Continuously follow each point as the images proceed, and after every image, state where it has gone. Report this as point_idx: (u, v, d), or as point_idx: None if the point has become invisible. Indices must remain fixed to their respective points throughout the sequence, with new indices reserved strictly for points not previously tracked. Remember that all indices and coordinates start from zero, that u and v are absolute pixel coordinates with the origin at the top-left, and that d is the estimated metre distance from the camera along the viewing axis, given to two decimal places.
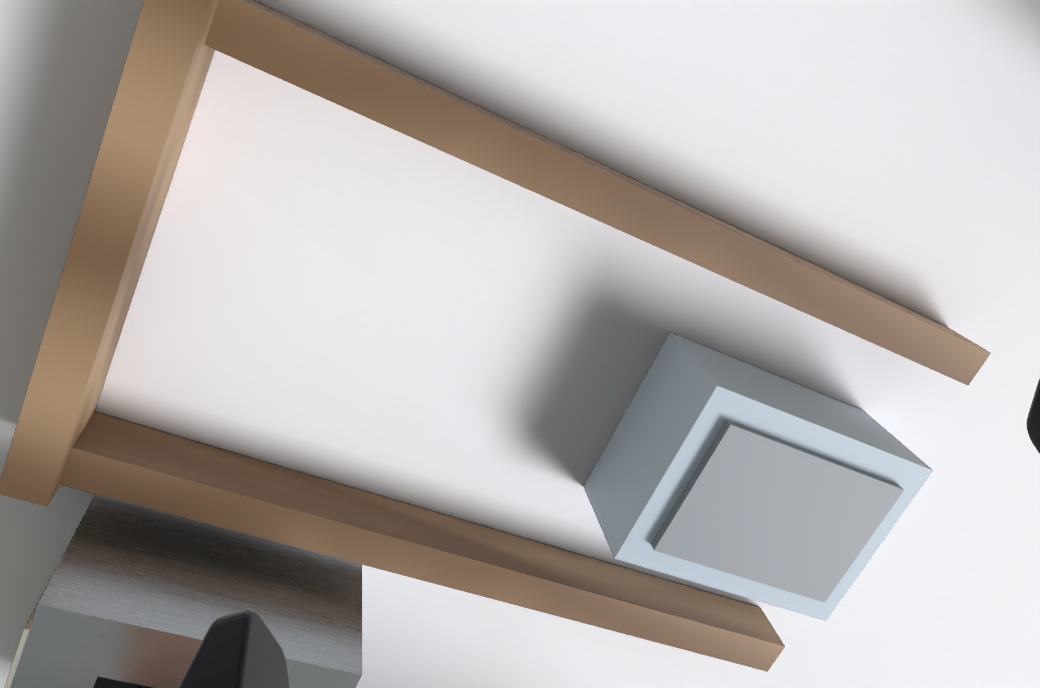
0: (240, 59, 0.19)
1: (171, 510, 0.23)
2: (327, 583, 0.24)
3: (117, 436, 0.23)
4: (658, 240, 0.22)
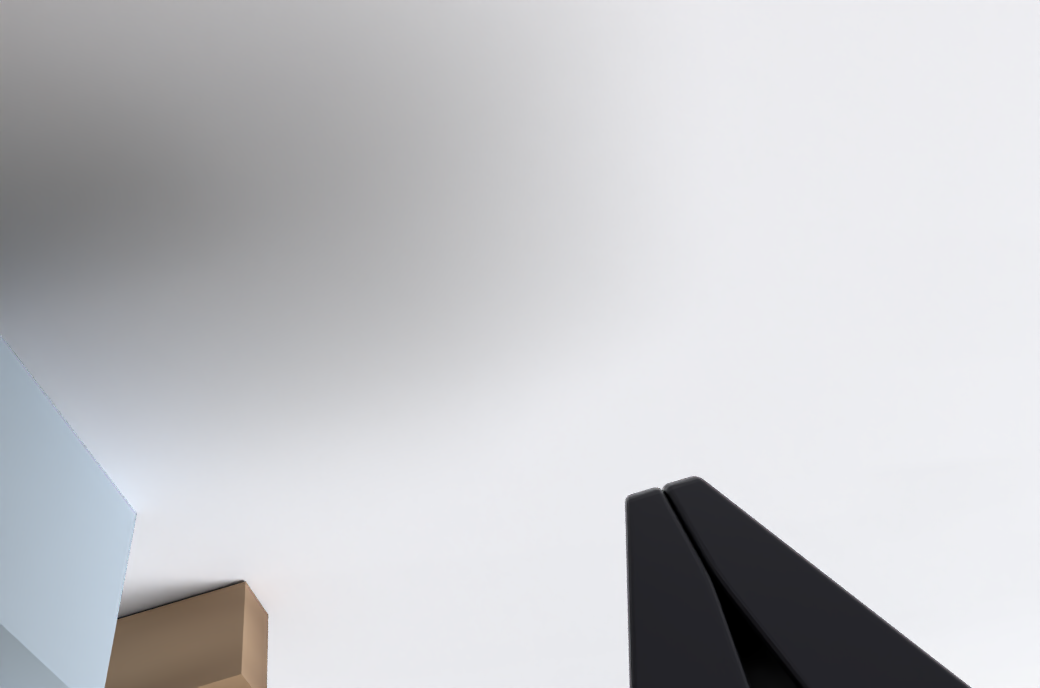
0: None
1: None
2: None
3: None
4: None
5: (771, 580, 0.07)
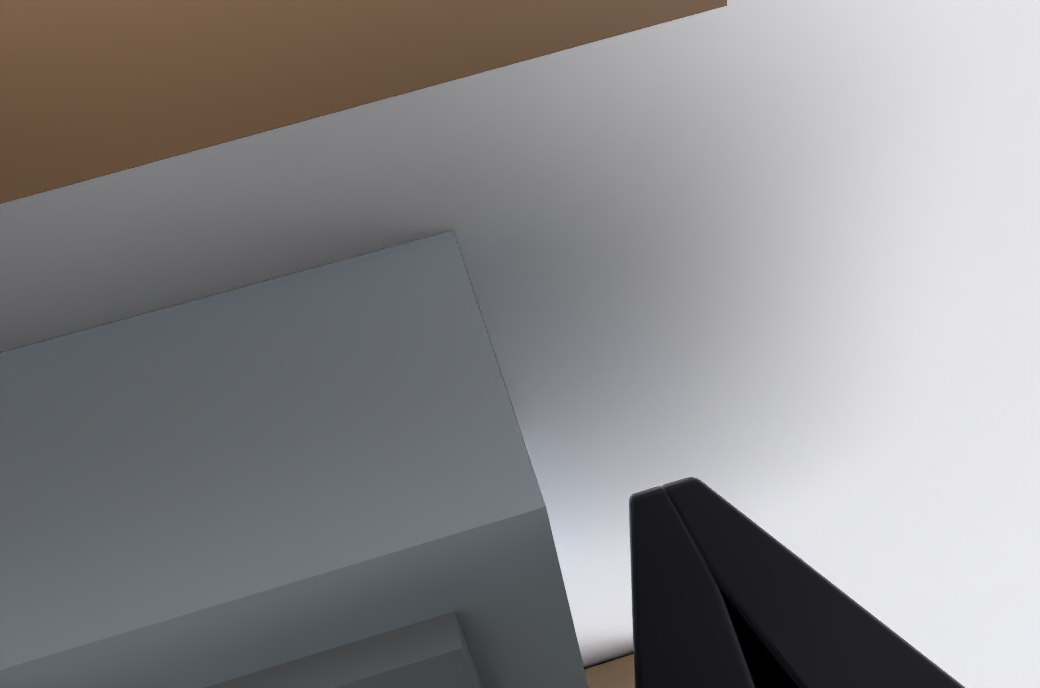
0: None
1: None
2: None
3: None
4: None
5: (767, 581, 0.07)
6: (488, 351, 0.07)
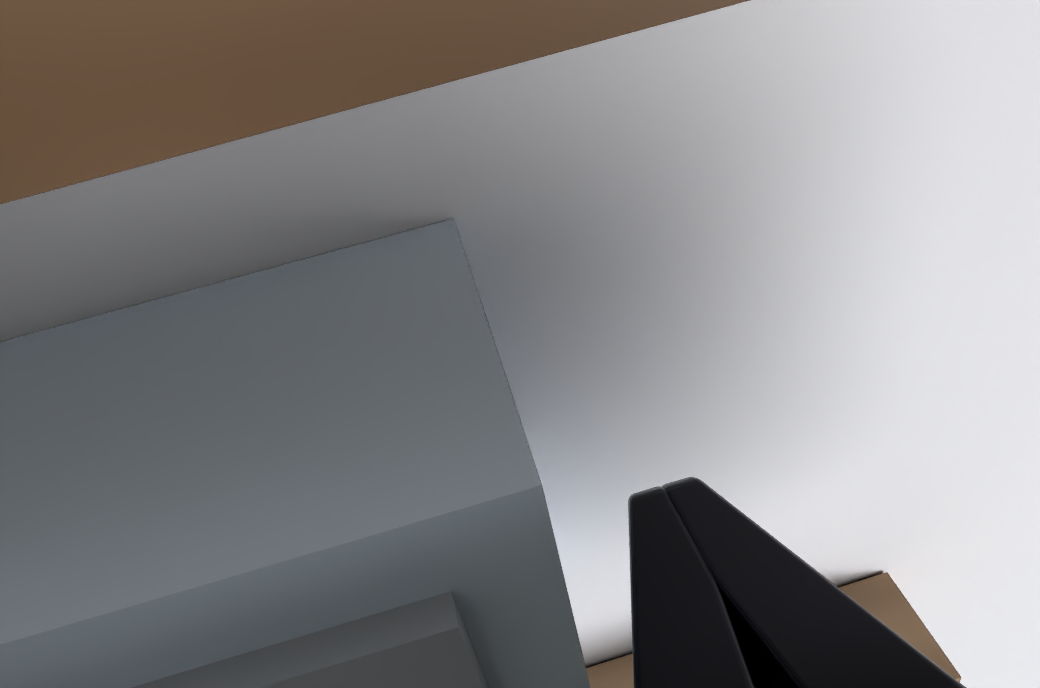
0: None
1: None
2: None
3: None
4: None
5: (768, 580, 0.07)
6: (486, 333, 0.07)
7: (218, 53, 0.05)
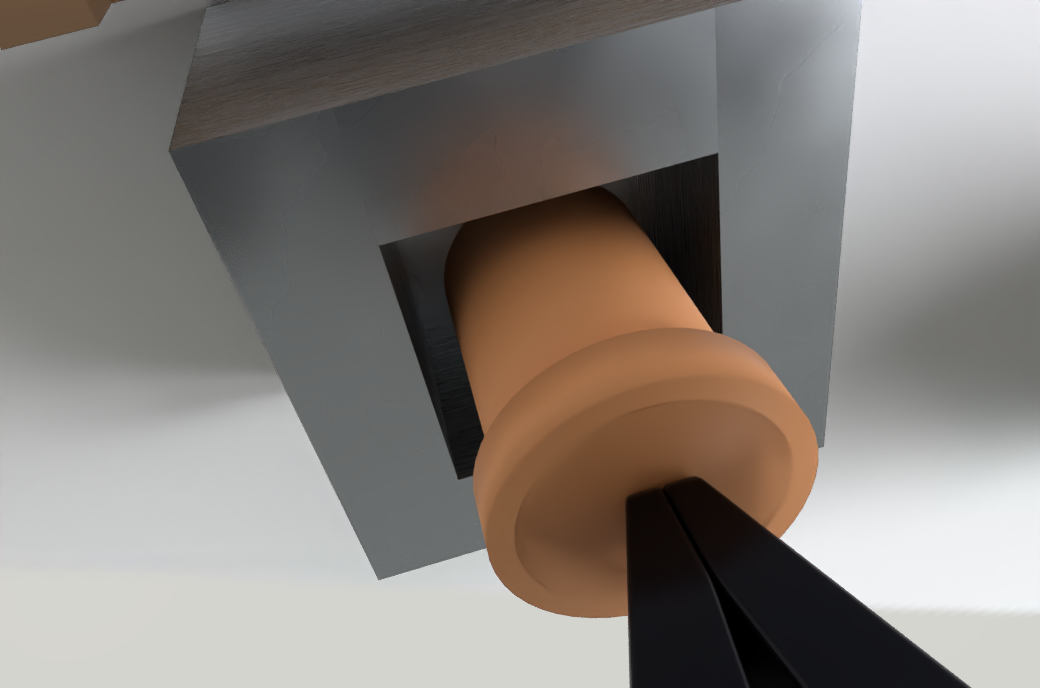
0: None
1: None
2: None
3: None
4: None
5: (771, 580, 0.07)
6: None
7: None
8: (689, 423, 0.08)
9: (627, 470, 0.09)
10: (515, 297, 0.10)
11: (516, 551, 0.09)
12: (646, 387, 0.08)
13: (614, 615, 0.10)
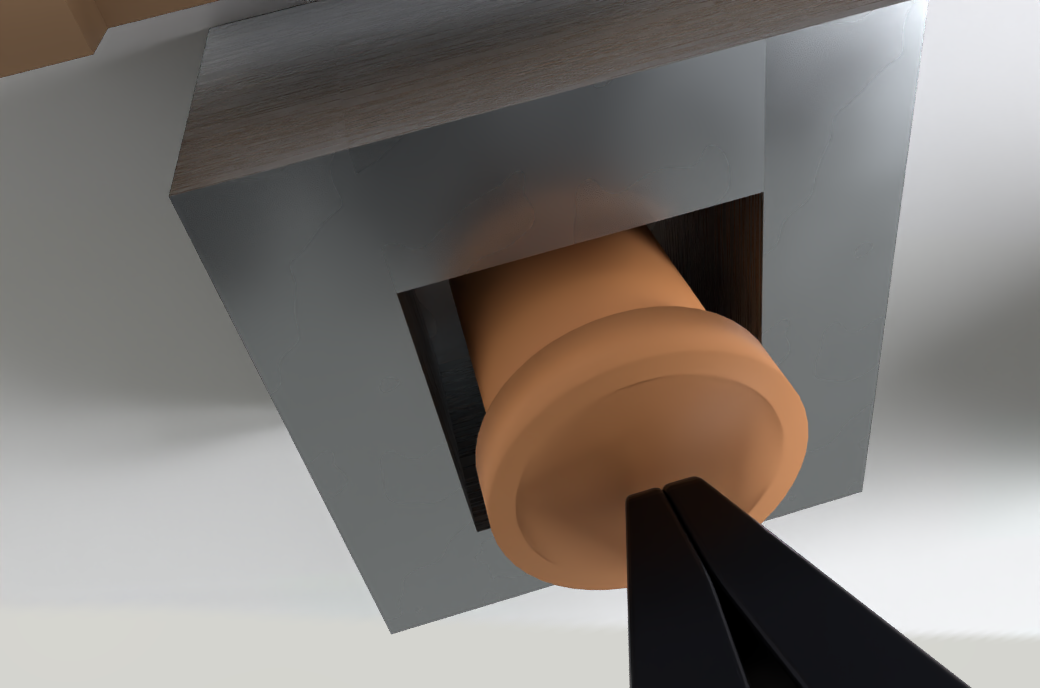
0: None
1: None
2: None
3: None
4: None
5: (771, 580, 0.07)
6: None
7: None
8: (683, 398, 0.09)
9: (623, 443, 0.09)
10: (517, 280, 0.11)
11: (517, 522, 0.09)
12: (641, 361, 0.08)
13: (612, 587, 0.10)
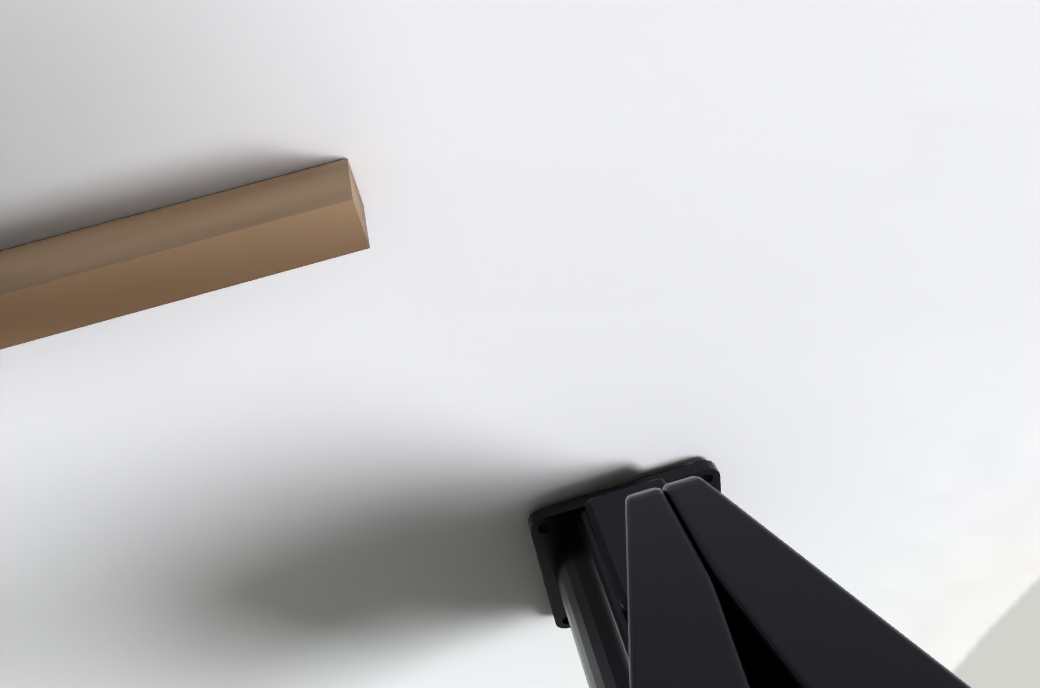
0: None
1: None
2: None
3: None
4: None
5: (771, 579, 0.07)
6: None
7: None
8: None
9: None
10: None
11: None
12: None
13: None
